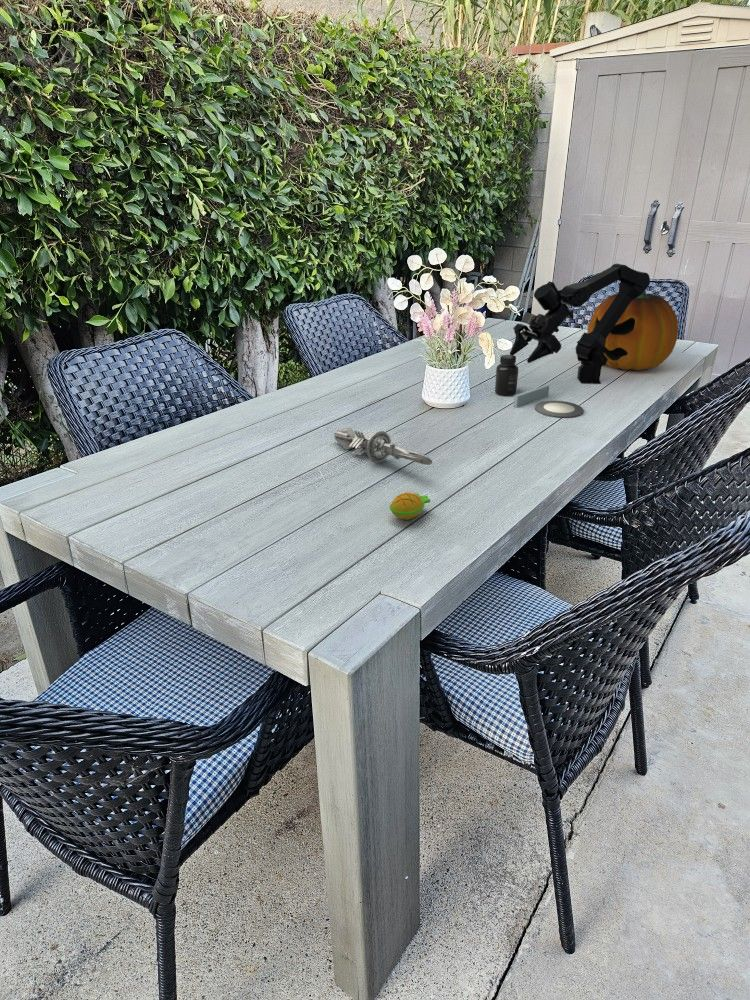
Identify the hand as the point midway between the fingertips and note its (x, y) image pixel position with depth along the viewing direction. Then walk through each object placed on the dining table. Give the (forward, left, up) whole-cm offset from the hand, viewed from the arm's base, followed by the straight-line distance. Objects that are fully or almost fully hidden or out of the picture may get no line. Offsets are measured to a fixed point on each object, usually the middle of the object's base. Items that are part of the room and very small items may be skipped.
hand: (519, 358), depth 214 cm
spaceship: (+42, +58, -11) cm, 72 cm away
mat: (-10, +17, -11) cm, 23 cm away
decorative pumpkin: (-45, -34, -11) cm, 57 cm away
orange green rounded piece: (+35, +86, -11) cm, 93 cm away
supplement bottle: (+4, +2, -11) cm, 12 cm away
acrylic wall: (-3, +9, -11) cm, 15 cm away
